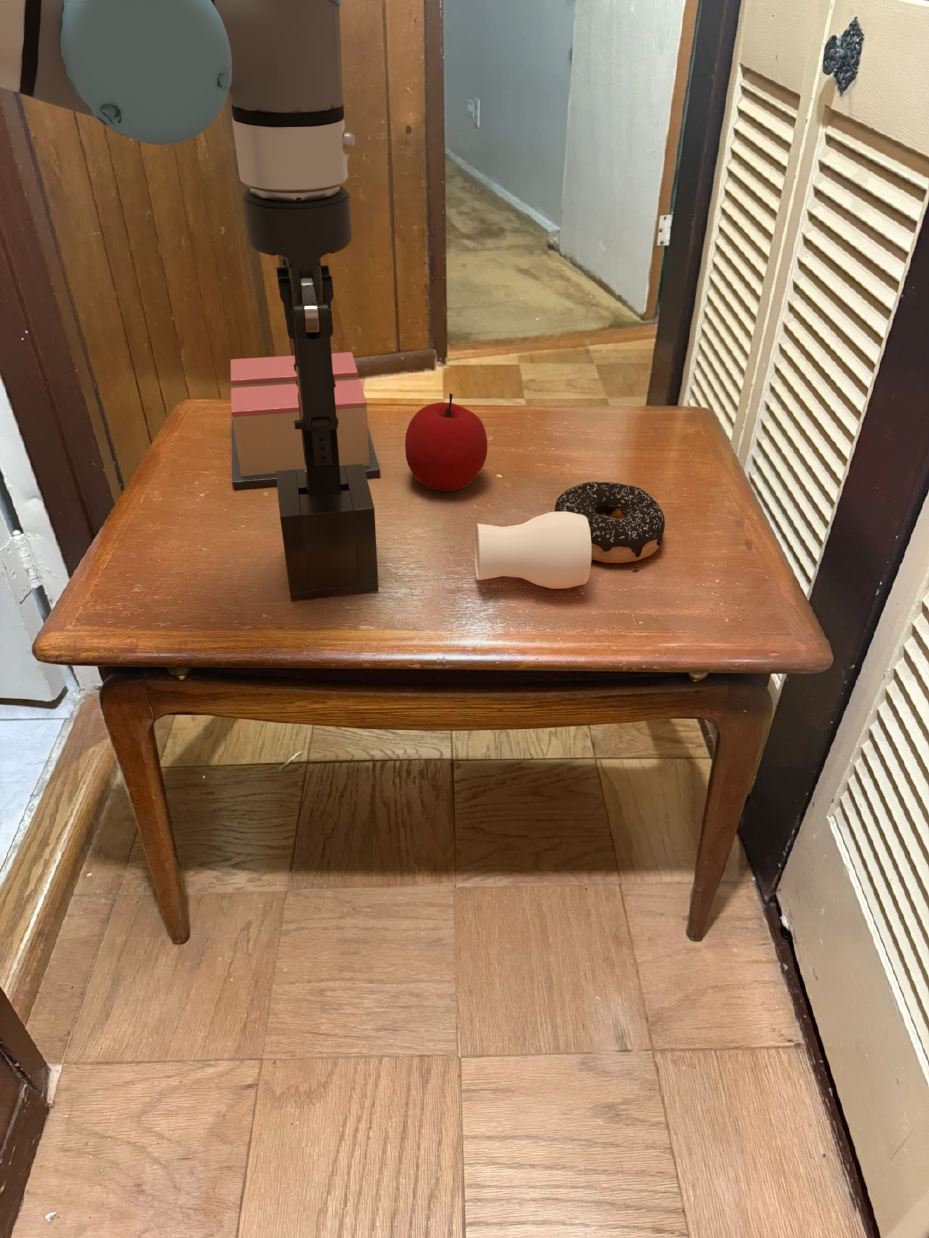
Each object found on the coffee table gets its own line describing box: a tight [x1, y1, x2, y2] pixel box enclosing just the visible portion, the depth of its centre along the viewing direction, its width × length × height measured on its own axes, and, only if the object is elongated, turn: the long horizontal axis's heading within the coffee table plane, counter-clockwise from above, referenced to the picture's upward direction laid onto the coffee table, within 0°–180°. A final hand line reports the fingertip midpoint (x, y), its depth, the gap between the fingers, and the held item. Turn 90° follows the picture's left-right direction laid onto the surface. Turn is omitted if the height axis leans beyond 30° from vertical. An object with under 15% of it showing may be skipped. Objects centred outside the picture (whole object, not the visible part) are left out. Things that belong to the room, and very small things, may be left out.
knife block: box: [276, 464, 380, 602], centre depth 79 cm, size 8×8×9 cm
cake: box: [230, 351, 381, 491], centre depth 98 cm, size 16×16×9 cm
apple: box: [404, 392, 488, 492], centre depth 93 cm, size 9×9×10 cm
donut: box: [553, 481, 666, 564], centre depth 87 cm, size 11×12×4 cm
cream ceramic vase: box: [474, 511, 592, 590], centre depth 79 cm, size 7×7×10 cm
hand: (322, 476), depth 76 cm, fingers open, 5 cm apart
